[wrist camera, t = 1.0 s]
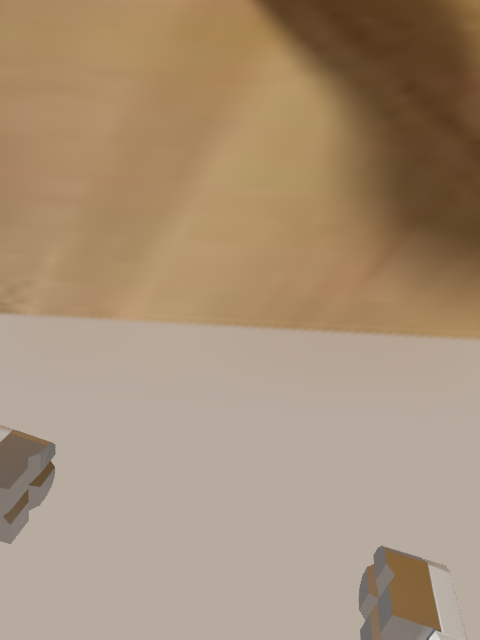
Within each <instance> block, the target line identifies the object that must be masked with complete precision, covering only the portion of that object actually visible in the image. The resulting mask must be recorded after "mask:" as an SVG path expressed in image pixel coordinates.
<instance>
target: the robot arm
mask: <svg viewBox="0 0 480 640" xmlns="http://www.w3.org/2000/svg"><path fill="white" fill-rule="evenodd" d="M54 455H55V444H54V443H51V442H48V441H46V440H43V439H40V438H37V437H34V436H31V435H28V434H25V433H23V432H20V431H17V430H13V429H10V428H7V427H4V426H1V425H0V541H2V542H5V543H9V544H11V543H12V541H13V540H14V539H15V538H16V536H17V535H18V533H19V532H20V531H21V530H22V528H23V527H24V526H25V524H26V523H27V522H28V516H29V513H28V511H29V510H31V509H33V508H35V507H37V506H39V505H40V504H41V503H42V501H43V500H44V499H45V497H46V496H47V494H48V492H49V490H50V488H51V485H52V483H53V479H54V475H55V467H54V465H53V464H52V462H51V459H52V458H53V456H54ZM359 610H360V612H361V613H362V615H363V617H364V618H365V620H366V621H365V623H364V625H363V626H362V628H361V630H360V635H361V640H467V636H466V633H465V629H464V625H463V621H462V617H461V613H460V610H459V605H458V602H457V598H456V595H455V590H454V586H453V582H452V578H451V574H450V571H449V569H448V568H447V566H445V565H442V564H438V563H435V562H432V561H429V560H426V559H422V558H420V557H417V556H413V555H410V554H407V553H403V552H400V551H397V550H394V549H390V548H387V547H383V546H380V547H379V548H378V549H377V550H376V552H375V554H374V564H373V565H371V566H369V567H367V568H366V570H365V572H364V574H363V576H362V580H361V584H360V589H359Z"/></svg>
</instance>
